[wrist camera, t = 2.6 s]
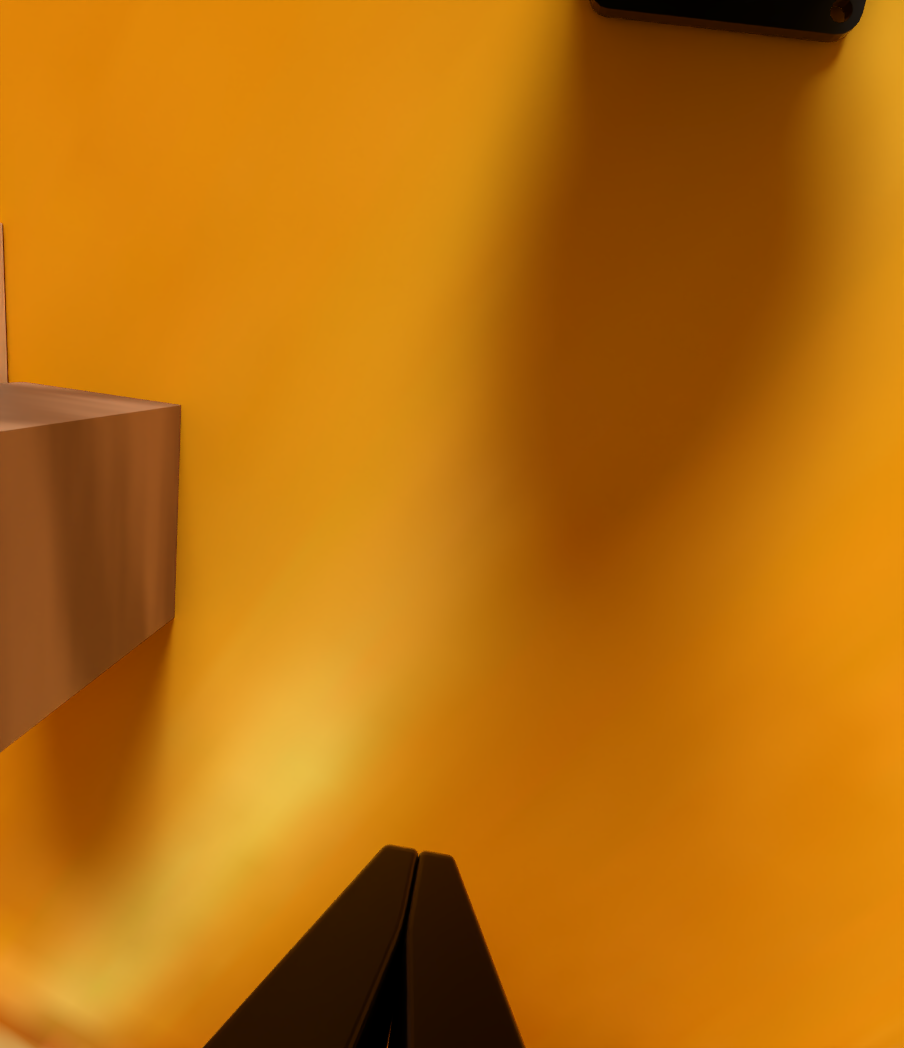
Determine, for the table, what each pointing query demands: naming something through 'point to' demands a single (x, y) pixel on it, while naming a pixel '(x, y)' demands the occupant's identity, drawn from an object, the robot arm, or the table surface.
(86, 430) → the walnut block
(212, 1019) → the table surface
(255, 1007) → the robot arm
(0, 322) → the mat
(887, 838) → the table surface
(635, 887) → the table surface
